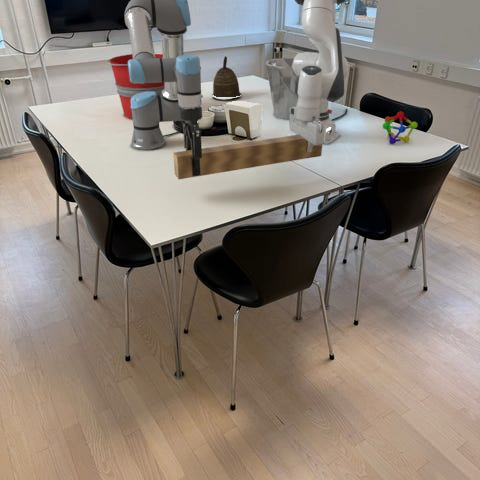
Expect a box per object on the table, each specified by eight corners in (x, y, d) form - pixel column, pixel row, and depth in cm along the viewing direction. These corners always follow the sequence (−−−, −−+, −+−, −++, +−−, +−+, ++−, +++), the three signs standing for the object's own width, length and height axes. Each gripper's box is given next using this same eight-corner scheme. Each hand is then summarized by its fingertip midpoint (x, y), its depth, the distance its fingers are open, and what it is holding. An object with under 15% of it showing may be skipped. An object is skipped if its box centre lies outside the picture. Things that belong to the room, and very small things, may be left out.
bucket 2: (291, 126, 231) (295, 70, 216) (253, 114, 250) (254, 61, 235) (328, 115, 248) (333, 63, 233) (289, 104, 267) (292, 55, 252)
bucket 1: (123, 104, 265) (116, 50, 249) (181, 105, 264) (178, 51, 248) (106, 122, 236) (97, 62, 220) (172, 123, 235) (167, 63, 219)
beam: (178, 179, 154) (177, 157, 149) (174, 174, 157) (173, 152, 153) (321, 156, 173) (323, 135, 169) (314, 152, 177) (316, 132, 173)
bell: (227, 105, 294) (202, 96, 282) (238, 66, 289) (213, 55, 277) (243, 108, 280) (217, 98, 268) (255, 66, 275) (229, 55, 263)
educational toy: (377, 146, 209) (379, 114, 202) (384, 138, 219) (386, 107, 211) (411, 149, 202) (415, 116, 195) (417, 141, 212) (420, 109, 204)
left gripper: (210, 112, 139) (212, 180, 151) (192, 98, 153) (196, 162, 165) (187, 114, 137) (191, 183, 149) (171, 101, 151) (176, 165, 163)
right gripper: (330, 120, 157) (326, 157, 164) (301, 105, 173) (298, 139, 180) (315, 122, 155) (311, 159, 162) (287, 107, 171) (285, 141, 178)
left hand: (194, 172), depth 157 cm, fingers closed on beam, 5 cm apart
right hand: (304, 149), depth 171 cm, fingers closed on beam, 5 cm apart
